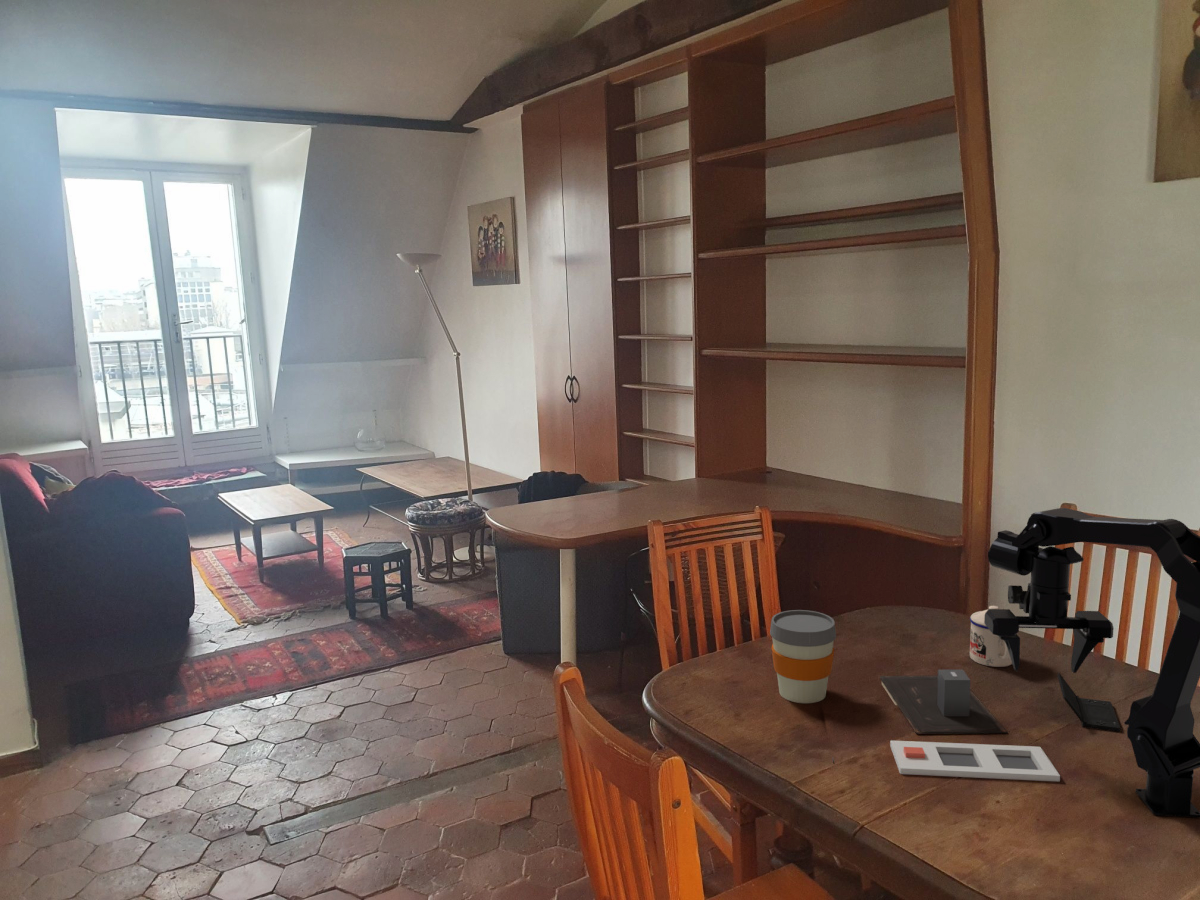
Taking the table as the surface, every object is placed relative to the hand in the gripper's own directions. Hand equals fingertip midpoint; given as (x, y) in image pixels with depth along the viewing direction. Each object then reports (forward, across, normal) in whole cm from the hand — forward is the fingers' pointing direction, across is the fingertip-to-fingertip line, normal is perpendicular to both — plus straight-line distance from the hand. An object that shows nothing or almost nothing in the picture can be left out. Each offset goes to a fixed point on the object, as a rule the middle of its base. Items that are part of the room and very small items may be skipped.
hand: (1044, 671), depth 147 cm
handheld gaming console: (+14, -12, -11) cm, 21 cm away
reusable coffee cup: (+13, +39, -16) cm, 44 cm away
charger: (+11, +13, -7) cm, 19 cm away
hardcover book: (+14, +14, -11) cm, 23 cm away
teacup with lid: (+13, -2, -34) cm, 37 cm away
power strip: (+13, +19, +10) cm, 25 cm away
